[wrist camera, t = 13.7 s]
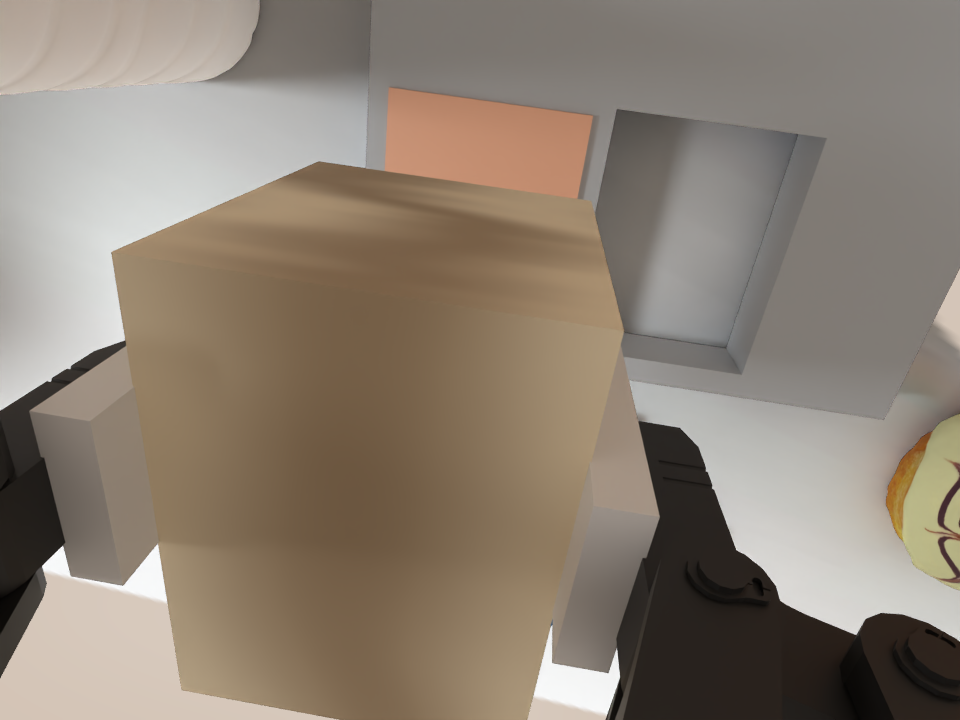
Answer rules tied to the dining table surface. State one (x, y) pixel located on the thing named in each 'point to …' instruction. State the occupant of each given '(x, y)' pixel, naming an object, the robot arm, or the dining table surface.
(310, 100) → the dining table surface
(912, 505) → the decorated donut
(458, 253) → the block
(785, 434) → the dining table surface
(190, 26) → the water bottle
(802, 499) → the dining table surface
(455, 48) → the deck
